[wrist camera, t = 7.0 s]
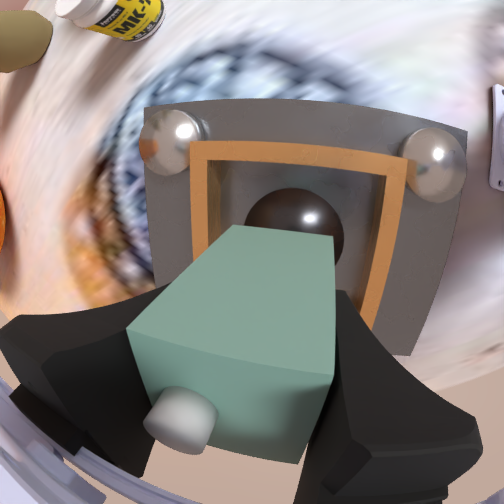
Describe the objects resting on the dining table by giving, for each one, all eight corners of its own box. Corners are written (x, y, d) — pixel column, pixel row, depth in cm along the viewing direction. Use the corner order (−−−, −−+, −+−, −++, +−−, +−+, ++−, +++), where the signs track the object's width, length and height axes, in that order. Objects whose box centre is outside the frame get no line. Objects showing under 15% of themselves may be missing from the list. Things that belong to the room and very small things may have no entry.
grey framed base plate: (448, 131, 14) (483, 131, 9) (403, 332, 20) (414, 374, 15) (167, 110, 18) (125, 106, 14) (176, 298, 24) (148, 330, 20)
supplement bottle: (144, 50, 16) (67, 29, 9) (113, 34, 16) (42, 17, 8) (179, 4, 14) (112, -36, 7) (144, -8, 14) (79, -39, 6)
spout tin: (333, 236, 10) (330, 423, 3) (318, 320, 12) (291, 494, 5) (233, 224, 11) (96, 358, 4) (232, 307, 13) (147, 453, 6)
